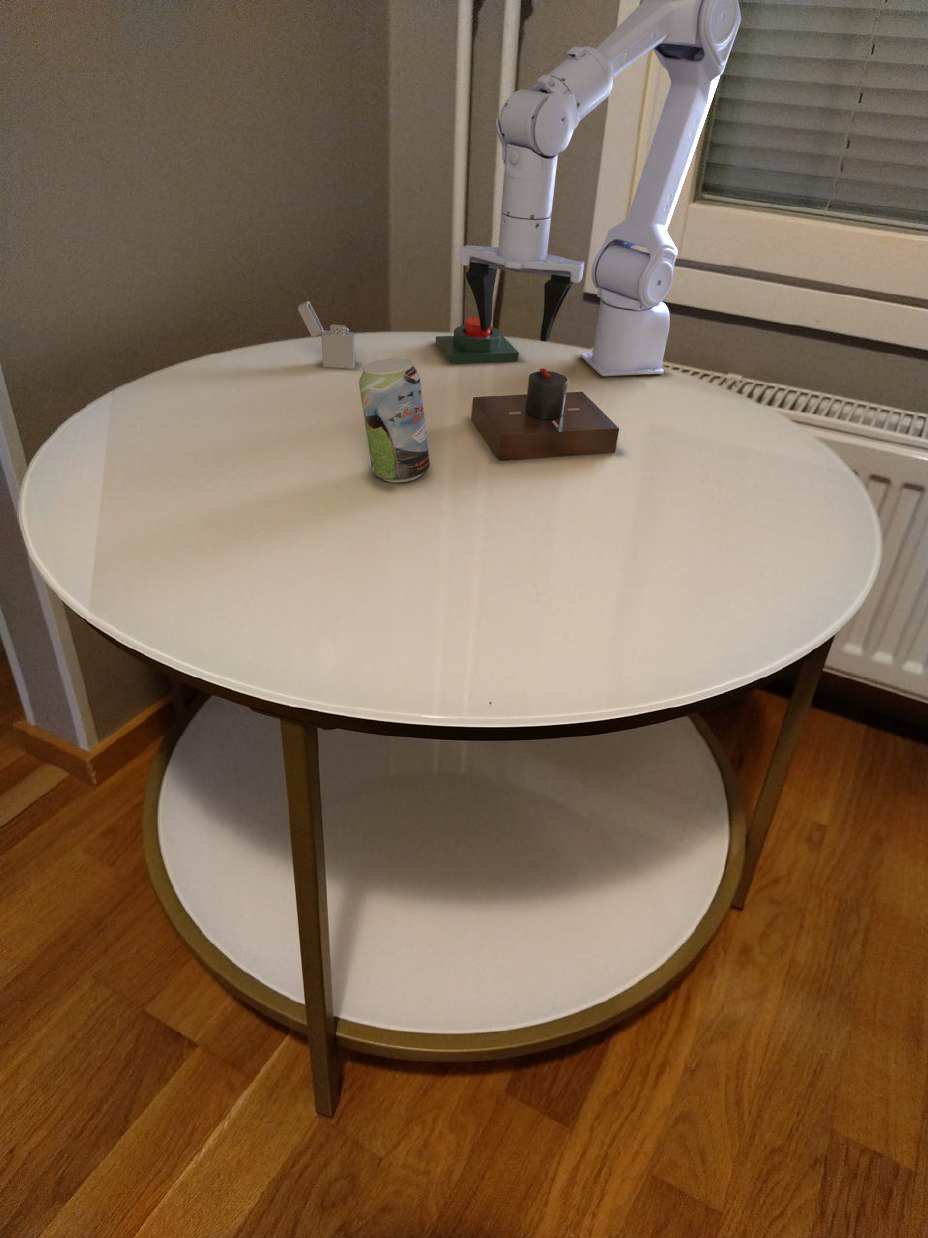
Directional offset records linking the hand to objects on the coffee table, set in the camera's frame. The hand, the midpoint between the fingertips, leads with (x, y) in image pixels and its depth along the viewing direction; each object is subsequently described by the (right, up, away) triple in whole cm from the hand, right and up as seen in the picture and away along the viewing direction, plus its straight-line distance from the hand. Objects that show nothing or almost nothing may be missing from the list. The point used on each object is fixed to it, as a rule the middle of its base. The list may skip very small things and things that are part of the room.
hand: (515, 333), depth 106 cm
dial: (+3, -11, -7) cm, 14 cm away
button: (-4, +5, +15) cm, 16 cm away
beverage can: (-14, -20, -15) cm, 29 cm away
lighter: (-25, -1, +9) cm, 26 cm away
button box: (-5, +3, +17) cm, 17 cm away
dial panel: (+3, -14, -5) cm, 15 cm away
